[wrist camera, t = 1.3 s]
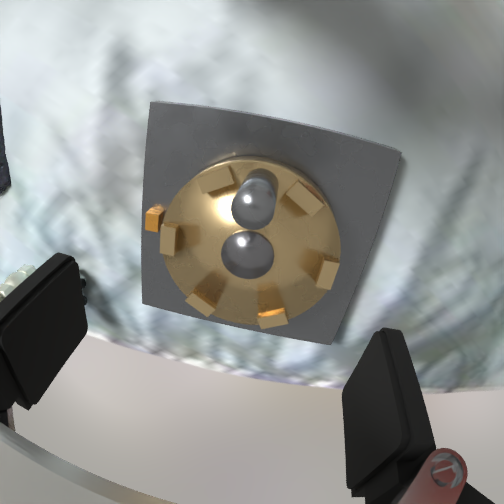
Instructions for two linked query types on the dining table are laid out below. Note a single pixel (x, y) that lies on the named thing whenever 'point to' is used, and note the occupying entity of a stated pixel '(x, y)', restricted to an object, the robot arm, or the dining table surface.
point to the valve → (20, 276)
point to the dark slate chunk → (3, 161)
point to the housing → (279, 148)
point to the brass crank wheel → (251, 241)
